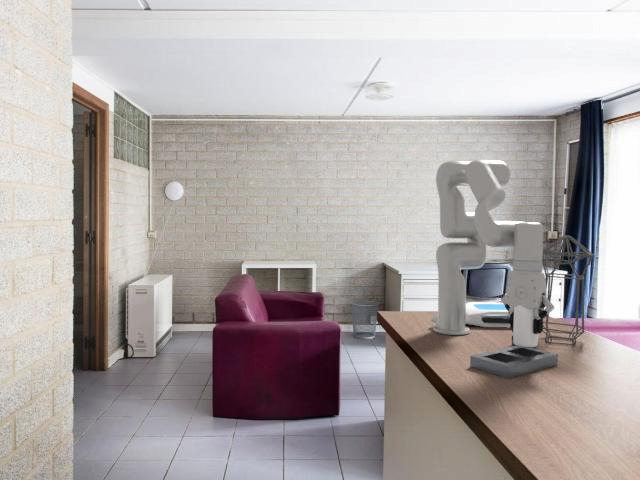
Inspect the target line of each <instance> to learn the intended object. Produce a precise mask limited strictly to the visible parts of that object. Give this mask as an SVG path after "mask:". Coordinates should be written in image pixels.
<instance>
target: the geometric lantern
mask: <svg viewBox="0 0 640 480" xmlns="http://www.w3.org/2000/svg"><path fill="white" fill-rule="evenodd" d="M570 241H571V242H572V243H573V244H574V245H575V246H577V247H578V248H579V249H580V250H581V251H574V252H573V248H572V246H571V245H572V244H571V243H570ZM561 242H562V243H561ZM559 243H561V245H560V248H559V250H552V248H554V247H555V246H557V245H558V244H559ZM566 251H567V252H566ZM545 254H547V255H548V256H549V257H551V259H553V260H554V261H556V263H557V265H556V266H555V267H554V268H553V269H552V271H551V272H549V270H548V266H547V263H546V258H545ZM560 256H561V257H560ZM595 256H596V255H595V254H594V253H592V252H591V251H590V250H589V249H588V248H587V247H585V246H584V245H583V244H581V243H580V242H579V241H578V240H577V239H575V238H574V237H572V236H571V235H562V236H561V237H559V238H557V239H556V240H555V241H553V242H551V243H550V244H548V245H546V246H545V247H544V246H543V257H542V267H543V269H544V275H545V280H546V290H547V299H548V300H549V301H550V302H551V300H552V291H553V283H554V278H555V279H556V278H558V279H559V278H560V279H569V280H576V307H575V320H574V322H575V323H574V324H573V323H572V324H571V323H560V322H552V321H549V315H550V313H549V314H548V315H547V316H546V317H545V321H543V330H542V333H543V334H545V341H546V343H548V344H557V345H558V344H559V345H569V346H570V345H571V346H574V345H576V343H577V338H579V337H580V336H581V335H583V334H584V333H585V277H584V276H585V274H586V272H587V270H588V267H589V266H590V265H591V262H592V260H593V258H594V257H595ZM564 257H567V259H568V260H567V259H564ZM570 257H571V258H570ZM573 257H575V258H573ZM585 258H587V262H586V264H585V266H584V269H583V272H582V274H581V275H580V273H579V272H578V270H577V269H576V267H575V265H574V264H573V263H576V262H577V261H581V260H583V259H585ZM560 265H569V267H570V268H571V270H572V272H573V273H574V274H570V273H569V274H567V273H555V272H556V270H557V268H559V266H560ZM556 275H557V276H556ZM558 275H559V276H558ZM568 276H573V277H568ZM574 276H575V277H574ZM580 283H581V284H580ZM580 287H581V325H579V302H580V300H579V299H580ZM542 309H543V310H545V307H544V308H542ZM549 324H550V325H556V326H557V325H559V326H568V327H573V328H572V330H571V331H570V330H563V329H557V328H556V329H554V328H549ZM575 328H576V329H575ZM574 330H576V331H574ZM551 333H553V334H554V333H556V334H567V335H568V334H569V335H568V337H566V336H559V335H558V336H556V335H551ZM553 339H561V340H570V341H572V342H571V343H567V342H555V341H554V342H553V341H552V340H553Z"/></svg>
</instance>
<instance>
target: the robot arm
mask: <svg viewBox="0 0 640 480" xmlns="http://www.w3.org/2000/svg"><path fill="white" fill-rule="evenodd" d="M510 180H511V170H510V167H509V166H508V165H507V163H506V162H504V161H502V160H494V159H492V160H490V159H489V160H488V159H475V160H472V161H469V160H468V161H467V160H449V161H445V162H442V163H441V164H440V165H439V166H438V168H437V171H436V175H435V184H436V189H437V193H438V196H439V226H440V228H439V229H440V233H441V235H442V236H443V237H444V238H447V239H453V240H454V239H458V240H459V239H461V240H462V239H464V240H465V239H466V241H467V242H462V241H461V242H460V241H459V242H457V241H455V242H453V241H451V242H445V243H443V244H440V245H439V246H438V247H437V249H436V253H435V257H436V265H437V272H438V273H437V274H438V278H437V279H438V286H437V287H438V288H437V289H438V290H437V291H438V294H437V295H438V296H437V298H438V301H437V303H438V304H437V315H434V316H433V317H432V318H431V319H430V322H432V323H435V325H434V326H433V332H435V333H437V334H443V335H449V336H451V335H452V336H464V335H468V334H470V333H471V329H470V328H469V327H467V326H466V303H467V281H466V278H465V276H464V275H463V273H462V271H461V270H477V269H481V268H482V267H483V266H484V265H485V264H486V259H487V246H488V247H491V248H504V247H505V248H513V250H512V251H513V253H512V255H513V257H512V258H513V259H512V260H511V261H509V262H510V263H509V265H510V267H512V270H510V271H509V275H508V278H507V285H506V292H505V293H506V294H505V295H504V296H503V297H502V298H501V299H500V301H501V303H503V304H504V305H505V308H506V309H507V310H508V313H509V314H510V319H509V323H510V328H509V329H510V330H512V329H513V324H514V307H516V306H519V305H521V306H523V307H524V308H527V309H533V312H534V315H535V318H536V319H534V320H533V333H534V334H538V335H539V334H542V333H543V331H544V329H543V325H544V323H543V322H544V319H546V316H547V315H548V314H549V315H550V313H551V312H552V311H553V310H555V305H553V303H552V302H551V301H549V300H548V299H547V297H548V289H547V290H546V280H545V278H546V276H545V272H543V262H542V257H543V248H544V225H543V224H542V223H541V222H535V221H534V222H532V221H531V222H530V221H529V222H528V221H522V220H521V221H520V220H519V221H518V220H517V221H516V220H494V219H493V217H492V216H491V213H490V211H492V210H494V209H496V208H497V207H499V206H500V205H501V204H503V203H504V201H505V199H506V191H505V189H504V188H503V187H504V186H506V185H508V183H509V182H510ZM458 186H459V187H461V186H462V187H463V186H464V187H469V188H470V190H471V192H472V194H473V196H474V198H475V200H476V202H477V205H476V207H475V210H474V211H466V208H465V205H466V204H465V197H464V195H463V193H462V191H461V190H460V189H459V188H458ZM519 303H521V304H519ZM542 308H544V310H543V309H542ZM542 330H543V331H542Z"/></svg>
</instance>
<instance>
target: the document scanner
mask: <svg viewBox="0 0 640 480" xmlns="http://www.w3.org/2000/svg"><path fill="white" fill-rule="evenodd" d="M482 318H503V319H502V320H510V314H509V313H508V310H507V309H506V308H505V305H504V304H503V303H502V302H494V301H493V302H489V301H488V302H485V301H483V302H482V301H480V302H479V301H470V302H466V324H468V326H472V325H474V327H479V326H480V328H486V327H507V328H506V329H511V328H510V322H484V321H483V319H482Z"/></svg>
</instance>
